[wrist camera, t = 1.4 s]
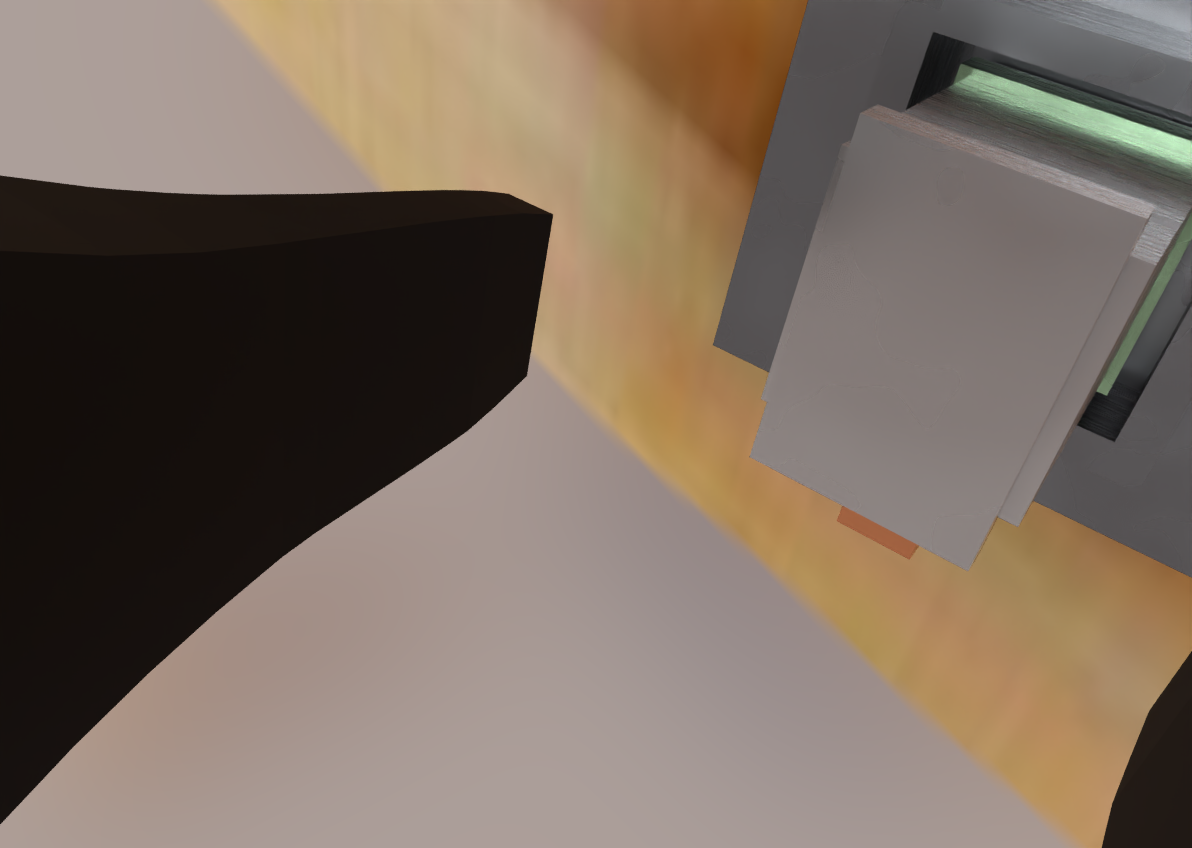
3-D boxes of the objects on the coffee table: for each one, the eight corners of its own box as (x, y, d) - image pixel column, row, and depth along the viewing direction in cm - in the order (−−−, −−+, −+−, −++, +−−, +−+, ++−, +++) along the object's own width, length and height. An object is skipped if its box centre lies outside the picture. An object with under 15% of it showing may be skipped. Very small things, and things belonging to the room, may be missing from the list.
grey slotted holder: (1662, -44, 13) (1767, 8, 9) (1236, 565, 19) (1188, 757, 15) (894, -225, 17) (737, -242, 13) (735, 328, 22) (593, 430, 19)
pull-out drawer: (1263, 107, 15) (1191, 235, 10) (1113, 383, 17) (1000, 588, 13) (998, 22, 16) (825, 100, 12) (897, 290, 19) (722, 442, 14)
